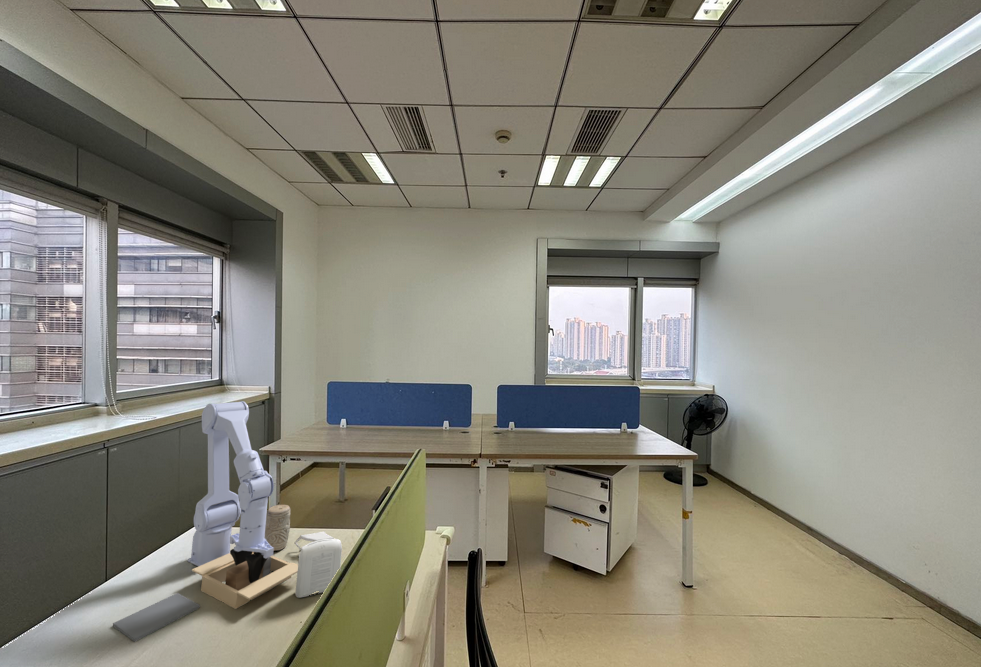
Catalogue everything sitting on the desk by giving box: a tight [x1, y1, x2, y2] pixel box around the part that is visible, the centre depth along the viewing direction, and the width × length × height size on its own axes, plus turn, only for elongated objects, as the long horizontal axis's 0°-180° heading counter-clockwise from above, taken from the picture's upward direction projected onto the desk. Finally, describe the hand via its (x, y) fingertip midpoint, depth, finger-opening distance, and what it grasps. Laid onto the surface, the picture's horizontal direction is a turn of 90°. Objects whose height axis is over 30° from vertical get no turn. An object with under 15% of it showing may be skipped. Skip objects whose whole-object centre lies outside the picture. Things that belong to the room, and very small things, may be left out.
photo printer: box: [295, 538, 343, 598], centre depth 99 cm, size 10×4×12 cm, turn 123°
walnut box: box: [224, 557, 271, 591], centre depth 99 cm, size 4×9×5 cm, turn 155°
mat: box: [112, 592, 201, 643], centre depth 86 cm, size 9×12×1 cm
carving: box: [264, 504, 291, 552], centre depth 117 cm, size 6×8×12 cm
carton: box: [191, 552, 298, 610], centre depth 99 cm, size 22×15×4 cm, turn 65°
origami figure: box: [294, 530, 335, 551], centre depth 116 cm, size 12×8×5 cm
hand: (248, 578), depth 99 cm, fingers closed on walnut box, 4 cm apart
